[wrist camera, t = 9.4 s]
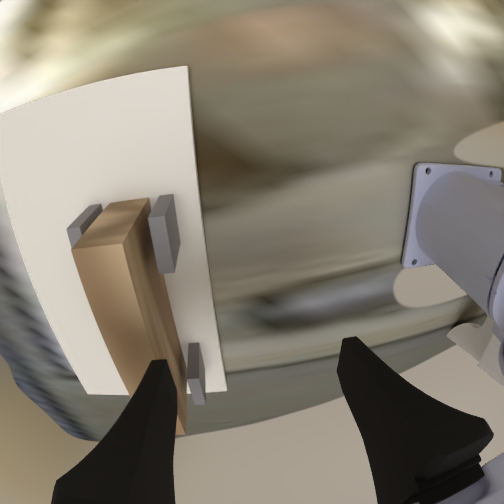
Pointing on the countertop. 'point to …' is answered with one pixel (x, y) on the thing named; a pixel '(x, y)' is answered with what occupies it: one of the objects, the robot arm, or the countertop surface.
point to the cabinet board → (98, 198)
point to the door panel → (130, 296)
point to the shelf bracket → (480, 346)
